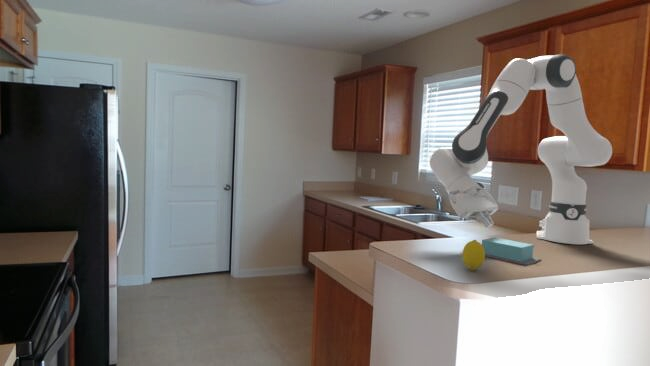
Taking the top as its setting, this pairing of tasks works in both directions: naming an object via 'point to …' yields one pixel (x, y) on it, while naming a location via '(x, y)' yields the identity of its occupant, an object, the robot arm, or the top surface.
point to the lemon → (473, 255)
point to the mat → (525, 262)
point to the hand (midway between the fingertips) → (490, 225)
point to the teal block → (508, 249)
